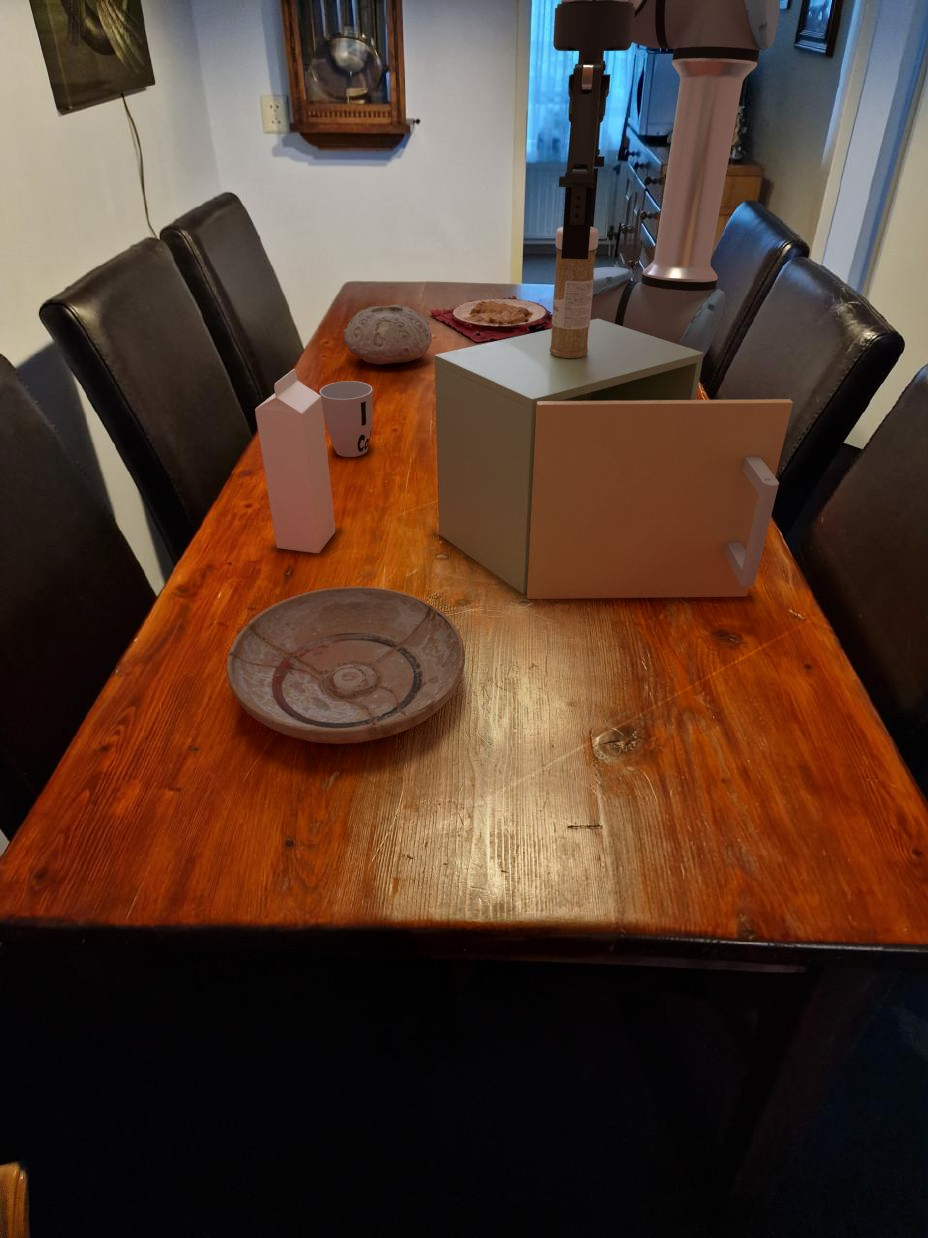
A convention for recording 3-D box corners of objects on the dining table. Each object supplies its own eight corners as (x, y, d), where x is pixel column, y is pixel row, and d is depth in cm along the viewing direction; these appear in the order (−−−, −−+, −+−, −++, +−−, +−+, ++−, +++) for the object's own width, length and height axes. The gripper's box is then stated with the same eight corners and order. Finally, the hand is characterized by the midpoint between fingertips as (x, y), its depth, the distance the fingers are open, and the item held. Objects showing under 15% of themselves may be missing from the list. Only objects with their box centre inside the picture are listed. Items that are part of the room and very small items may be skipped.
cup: (368, 462, 128) (363, 400, 122) (319, 458, 129) (311, 397, 123) (382, 442, 134) (378, 382, 128) (335, 438, 135) (329, 379, 130)
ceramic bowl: (262, 802, 71) (253, 761, 68) (216, 651, 88) (207, 613, 85) (503, 728, 78) (504, 688, 75) (416, 602, 96) (414, 566, 93)
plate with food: (514, 303, 206) (514, 289, 204) (569, 327, 186) (570, 311, 184) (428, 317, 197) (428, 302, 195) (476, 342, 178) (476, 326, 176)
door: (765, 630, 91) (818, 428, 77) (532, 633, 91) (544, 430, 77) (744, 592, 97) (789, 398, 84) (526, 594, 97) (536, 401, 83)
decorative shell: (440, 369, 164) (439, 318, 158) (352, 377, 160) (348, 325, 155) (422, 343, 178) (421, 295, 172) (341, 350, 175) (336, 301, 169)
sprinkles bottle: (547, 347, 97) (554, 224, 89) (586, 347, 97) (596, 223, 89) (550, 359, 93) (558, 231, 86) (590, 359, 93) (601, 231, 86)
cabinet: (674, 532, 109) (704, 352, 96) (523, 595, 97) (532, 399, 83) (583, 484, 121) (598, 318, 107) (438, 534, 109) (434, 354, 95)
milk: (276, 548, 106) (248, 382, 93) (295, 526, 111) (271, 365, 98) (320, 554, 105) (297, 386, 92) (337, 531, 110) (318, 369, 97)
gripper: (636, -7, 66) (610, 272, 78) (635, 3, 86) (614, 223, 98) (544, -6, 67) (532, 269, 79) (564, 4, 87) (552, 222, 99)
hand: (578, 244), depth 89 cm, fingers open, 13 cm apart
